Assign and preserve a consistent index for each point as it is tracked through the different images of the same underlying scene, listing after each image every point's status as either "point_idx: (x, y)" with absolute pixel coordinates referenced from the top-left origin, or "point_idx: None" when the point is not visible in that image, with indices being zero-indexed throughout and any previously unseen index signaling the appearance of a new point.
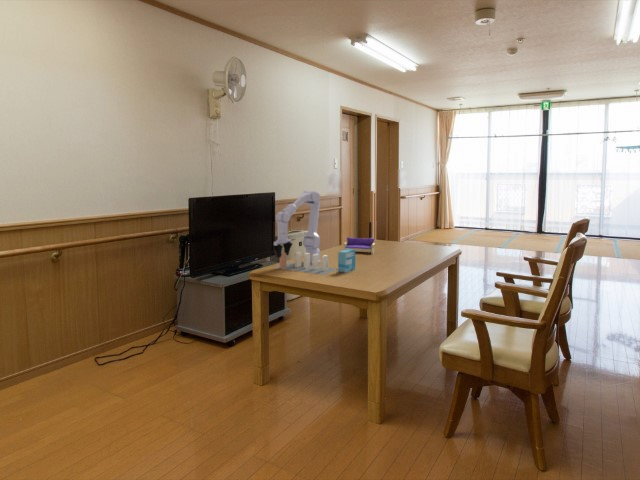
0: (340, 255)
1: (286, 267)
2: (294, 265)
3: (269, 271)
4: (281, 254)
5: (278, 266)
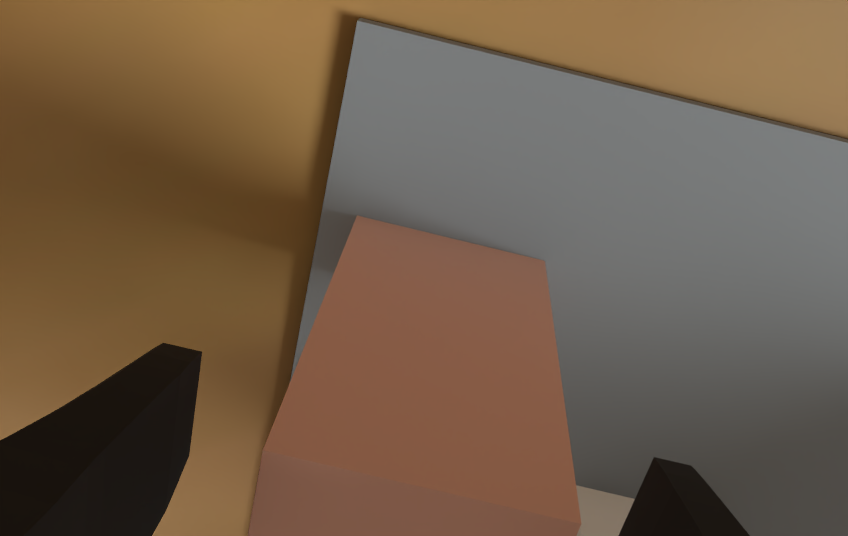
0: None
1: None
2: (758, 427)
3: (3, 80)
4: (254, 516)
5: (547, 108)
